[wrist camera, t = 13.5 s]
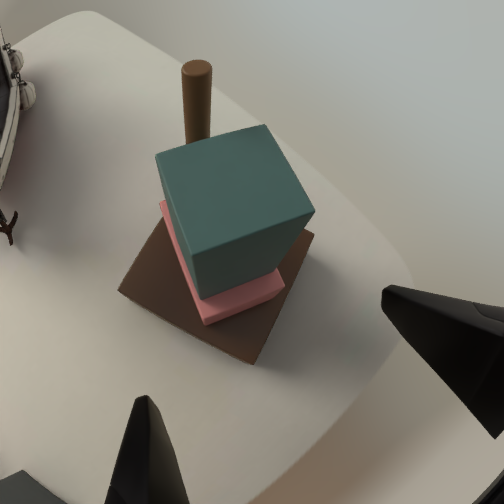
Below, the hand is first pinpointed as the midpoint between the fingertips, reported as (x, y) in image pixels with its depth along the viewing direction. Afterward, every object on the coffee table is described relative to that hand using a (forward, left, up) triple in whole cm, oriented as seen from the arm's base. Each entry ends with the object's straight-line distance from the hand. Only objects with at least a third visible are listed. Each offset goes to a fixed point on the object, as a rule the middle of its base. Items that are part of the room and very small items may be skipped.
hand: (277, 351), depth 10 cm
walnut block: (+4, -3, -7) cm, 8 cm away
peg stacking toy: (+4, -3, -4) cm, 7 cm away
